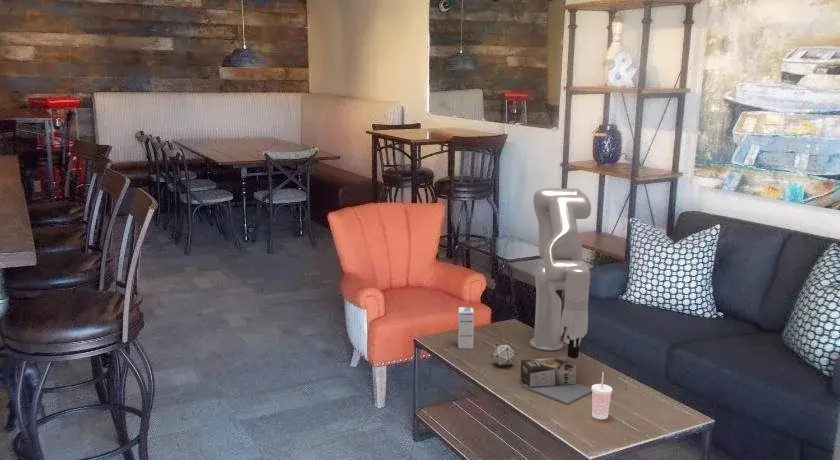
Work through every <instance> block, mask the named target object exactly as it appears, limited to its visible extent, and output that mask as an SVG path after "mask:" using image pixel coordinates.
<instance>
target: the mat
mask: <svg viewBox="0 0 840 460" xmlns="http://www.w3.org/2000/svg"><path fill="white" fill-rule="evenodd" d="M521 388H523V389H526V390H528V391H530V392H533V393H536V394H538V395H541V396H543V397H546V398H549V399H551V400H554V401H557V402H559V403H562V404H565V405H567V406H568V405H570V404H573V403H574V402H577V401H578V400H580V399H582V398H584V397H586V396H588V395H590V394H592V390H591V389H592V388H590V387H588V386H585V385H582V384H580V383H577V382H575V384H566V385H553V386H537V387H529V386H528V385H527V383H526V382H525V383H524V384H522V385H521Z"/></svg>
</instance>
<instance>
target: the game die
mask: <svg viewBox="0 0 840 460" xmlns="http://www.w3.org/2000/svg"><path fill="white" fill-rule="evenodd" d="M495 346H496V347H495V349H494V352H493V354H492V355H490V358H491V357H492V358H493V360H495V362H496V363H497V365H498V368H500V366H507V365H509V366H511V367H512V366H513V365H512V362H513V359H514V358H515V356H516V355H518V353H517V352H515V351H514V349H513V348H512V347H511V346H510V342H507V344H497V343H495Z"/></svg>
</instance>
